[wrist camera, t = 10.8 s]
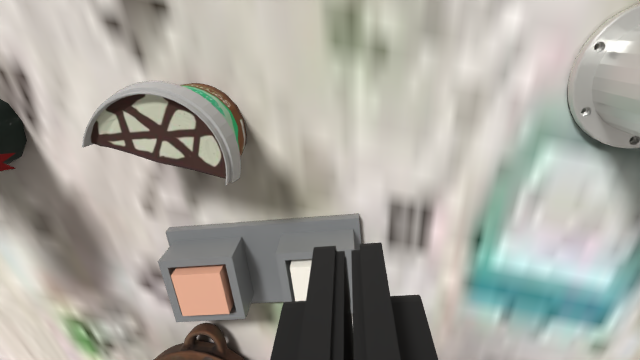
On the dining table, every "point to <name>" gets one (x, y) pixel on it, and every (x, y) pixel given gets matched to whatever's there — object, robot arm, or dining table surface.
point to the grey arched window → (173, 126)
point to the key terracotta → (203, 290)
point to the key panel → (256, 256)
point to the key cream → (300, 277)
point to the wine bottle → (10, 136)
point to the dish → (201, 346)
